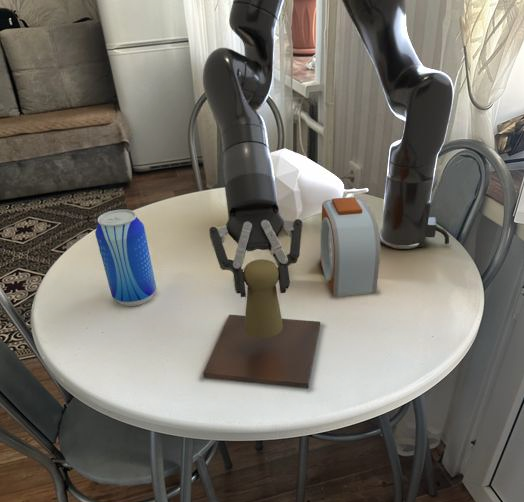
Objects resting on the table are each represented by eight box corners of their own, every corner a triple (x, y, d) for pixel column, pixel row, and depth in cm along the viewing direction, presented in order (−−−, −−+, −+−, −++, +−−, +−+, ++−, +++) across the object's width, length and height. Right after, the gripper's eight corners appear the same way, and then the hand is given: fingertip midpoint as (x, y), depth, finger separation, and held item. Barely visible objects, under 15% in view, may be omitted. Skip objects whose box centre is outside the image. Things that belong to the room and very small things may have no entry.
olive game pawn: (279, 339, 75) (277, 275, 69) (240, 336, 76) (235, 272, 70) (285, 317, 80) (285, 255, 73) (248, 314, 81) (244, 252, 74)
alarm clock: (317, 259, 105) (319, 196, 96) (357, 256, 105) (362, 192, 97) (331, 296, 93) (334, 228, 85) (376, 292, 93) (384, 224, 85)
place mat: (320, 326, 86) (320, 321, 85) (308, 388, 73) (308, 383, 73) (229, 319, 89) (229, 314, 88) (203, 377, 76) (202, 372, 76)
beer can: (116, 286, 99) (96, 209, 89) (159, 283, 100) (143, 205, 90) (109, 310, 93) (87, 228, 83) (155, 306, 93) (138, 225, 83)
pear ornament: (240, 136, 108) (373, 140, 102) (262, 170, 130) (371, 174, 124) (233, 213, 109) (364, 221, 103) (255, 234, 131) (364, 241, 125)
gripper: (200, 175, 70) (213, 292, 68) (301, 166, 71) (316, 282, 69) (202, 198, 78) (214, 304, 75) (294, 190, 79) (308, 295, 77)
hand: (263, 293), depth 72 cm, fingers closed on olive game pawn, 5 cm apart
